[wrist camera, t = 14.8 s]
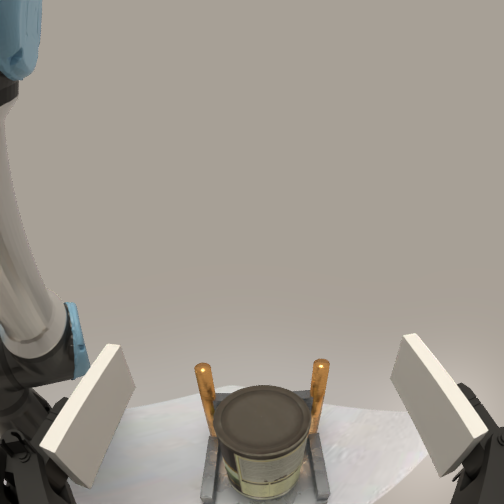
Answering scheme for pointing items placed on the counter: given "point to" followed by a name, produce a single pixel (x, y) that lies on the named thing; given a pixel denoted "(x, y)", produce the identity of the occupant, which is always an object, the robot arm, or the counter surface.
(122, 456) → the counter surface
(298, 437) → the coffee can
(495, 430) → the robot arm
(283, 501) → the keeper bracket
